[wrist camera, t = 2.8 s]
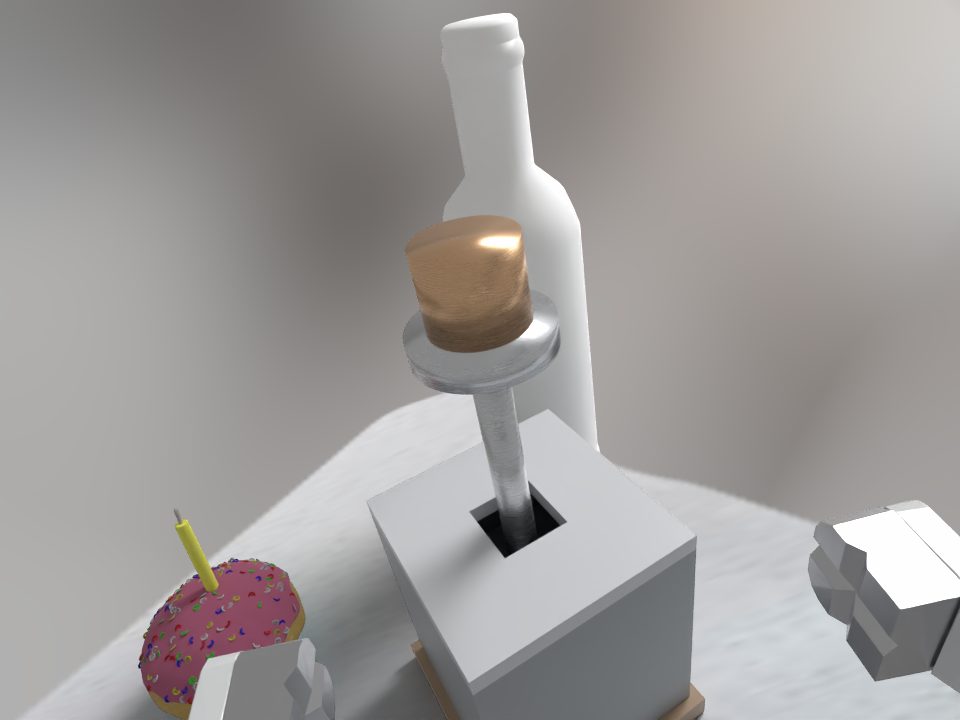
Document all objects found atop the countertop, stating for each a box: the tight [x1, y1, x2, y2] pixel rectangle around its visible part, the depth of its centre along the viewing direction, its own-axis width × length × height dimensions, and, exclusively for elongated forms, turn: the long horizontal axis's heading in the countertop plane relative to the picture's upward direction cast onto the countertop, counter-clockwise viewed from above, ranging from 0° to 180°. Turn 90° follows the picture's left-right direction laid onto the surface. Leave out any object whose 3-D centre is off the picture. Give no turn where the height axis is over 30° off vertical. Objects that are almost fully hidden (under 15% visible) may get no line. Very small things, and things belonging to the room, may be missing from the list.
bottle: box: [440, 13, 600, 453], centre depth 36 cm, size 8×8×30 cm
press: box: [366, 409, 705, 720], centre depth 29 cm, size 11×11×13 cm
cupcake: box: [138, 508, 305, 720], centre depth 33 cm, size 9×8×12 cm
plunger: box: [403, 215, 561, 558], centre depth 24 cm, size 8×8×18 cm
